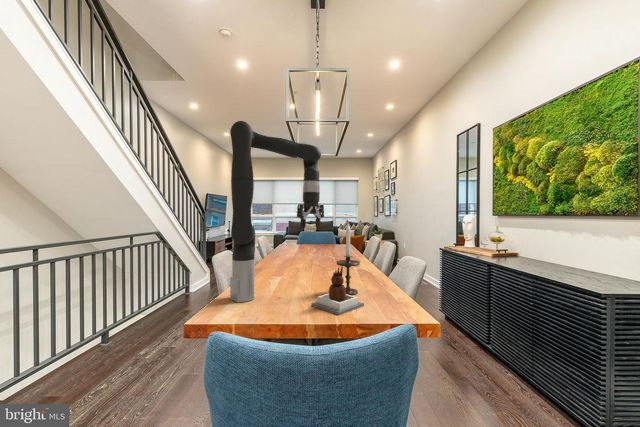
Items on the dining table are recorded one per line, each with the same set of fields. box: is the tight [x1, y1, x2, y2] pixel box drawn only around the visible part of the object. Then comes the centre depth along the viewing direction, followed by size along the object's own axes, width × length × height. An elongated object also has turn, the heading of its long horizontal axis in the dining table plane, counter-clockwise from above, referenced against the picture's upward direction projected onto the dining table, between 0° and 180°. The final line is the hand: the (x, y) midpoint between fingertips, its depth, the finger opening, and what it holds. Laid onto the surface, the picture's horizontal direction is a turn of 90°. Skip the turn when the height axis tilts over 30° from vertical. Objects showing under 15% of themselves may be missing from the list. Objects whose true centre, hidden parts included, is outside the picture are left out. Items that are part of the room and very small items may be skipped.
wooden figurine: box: [328, 266, 346, 302], centre depth 117 cm, size 7×6×15 cm
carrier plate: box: [311, 293, 365, 316], centre depth 117 cm, size 15×15×4 cm
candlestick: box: [335, 218, 360, 296], centre depth 135 cm, size 11×11×35 cm
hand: (310, 227), depth 131 cm, fingers open, 8 cm apart
